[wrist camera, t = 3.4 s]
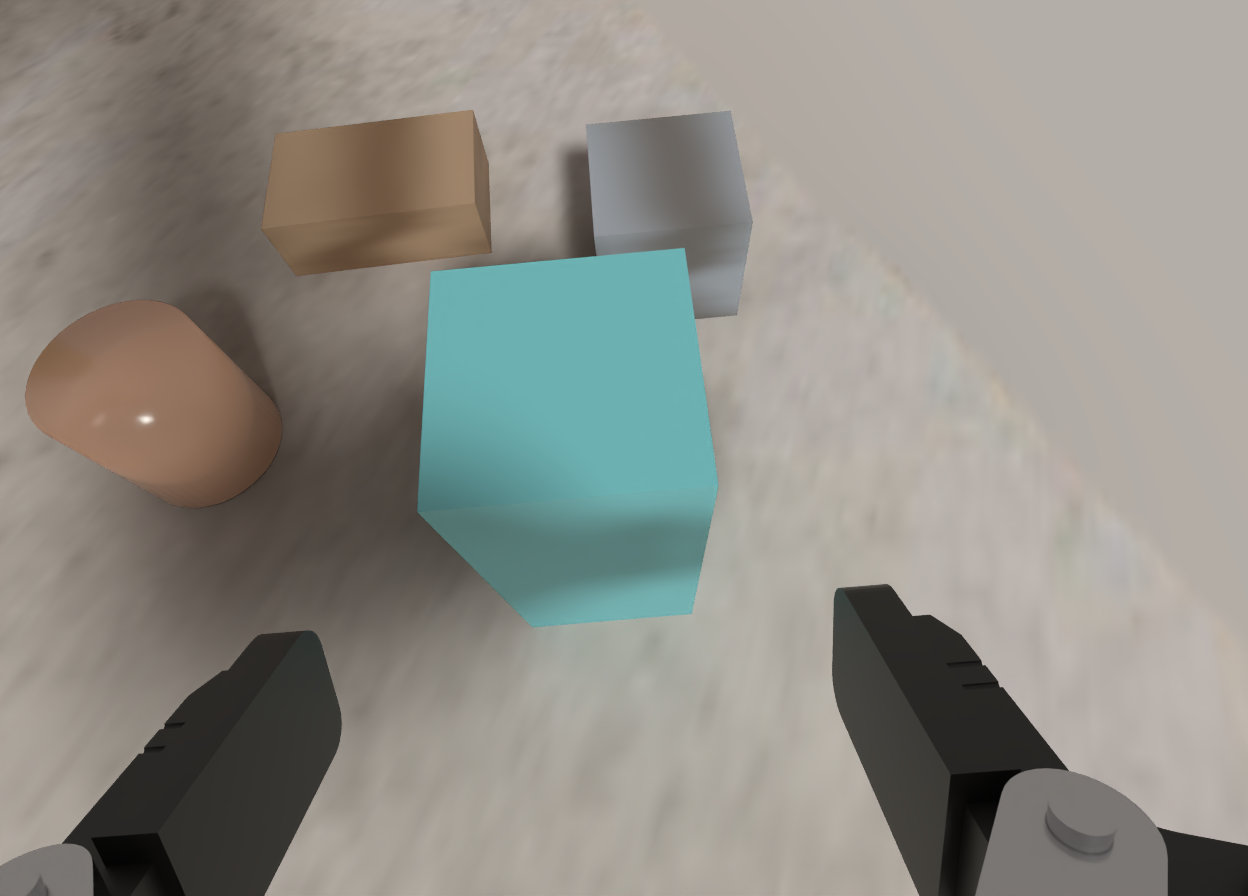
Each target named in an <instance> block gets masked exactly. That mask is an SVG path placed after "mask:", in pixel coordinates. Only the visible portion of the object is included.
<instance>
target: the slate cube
mask: <svg viewBox="0 0 1248 896" xmlns="http://www.w3.org/2000/svg"><path fill="white" fill-rule="evenodd" d="M586 131H587V145H588V159H589V173H590V187H591V202H592V216H593V230H594V241H595V248H596V256H603V255H614V254H625V253H635V252H646V251H657V250H668V249H678V248H685V254H686V261H687V268H688V275H689V282H690V289H691V296H692V303H693V310H694V317H695V319H700V318H711V317H722V316H733V315H737V311H738V305H739V299H740V294H741V288H742V282H743V276H744V270H745V264H746V258H747V252H748V246H749V241H750V235H751V229H752V223H753V221H752V216H751V211H750V206H749V201H748V196H747V191H746V186H745V181H744V176H743V171H742V166H741V161H740V156H739V151H738V146H737V141H736V136H735V131H734V126H733V121H732V116H731V111H724V112H714V113H703V114H693V115H682V116H672V117H661V118H651V119H641V120H630V121H620V122H609V123H599V124H588V125H586Z"/></svg>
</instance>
